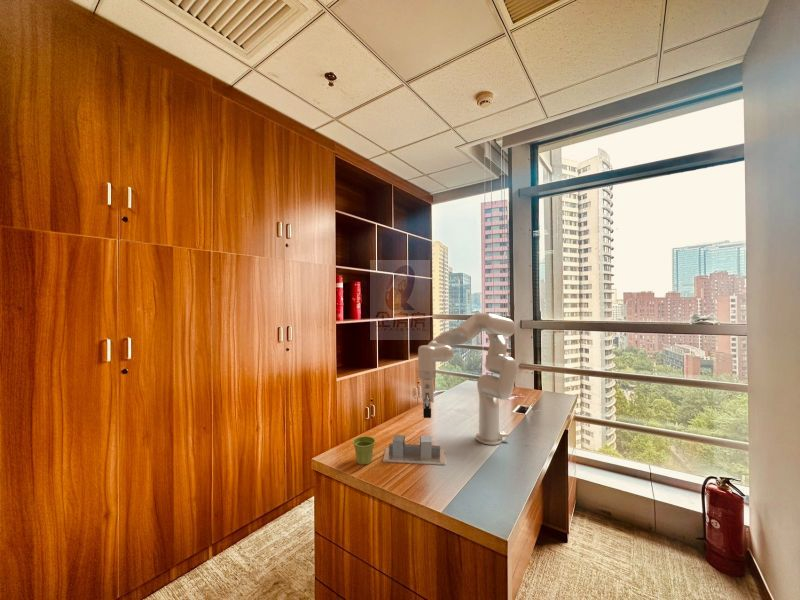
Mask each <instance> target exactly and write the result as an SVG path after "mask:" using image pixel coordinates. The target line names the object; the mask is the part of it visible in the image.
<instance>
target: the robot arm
mask: <svg viewBox="0 0 800 600" xmlns="http://www.w3.org/2000/svg"><path fill="white" fill-rule="evenodd" d="M516 330H517V326H516V323H515V322H514V320H512V319H511V318H509V317H508V318H507V317H504V316H500V315H497V314H494V313H485V312H484V313H483V312H482V313H481V312H477V313H474V314H473V315H471V316H470V317H468V318H467V319H466V320H465V321H463V322H462V323H461V324H459V325H458V326H457V327H455V328H452V329H449V330H447V331H445V332H443V333H441V334H438V336H436V337H435V338H434V339H432V340H431V341H430V342H428V344H424V345H419V346H418V349H417V355H418V357H417V358H418V361H417V363H418V365H417V367H418V370H417V371H418V375H417V377H418V379H419V380H420V383H421V385H420V386H421V390H420V392H421V401H422V404H423V409H422V410H423V416H422V417H423V418H424V419H431V418H432V406H431V405H432V403H434V402H435V401H434V398H435V397H434V396H435V394H434V393H435V392H434V391H435V389H434V388H435V386H434V382H435V381H434V379H436V377H437V375H436V374H437V372H436V371H437V369H436V366H437V365H436V363H438V362H440V363H446V362H450V361H451V360H453V358H454V355H455V352H454V349H453V348H452V346H457V345H463V344H467V343H469V342H470V341H472V340H473V339H474V338H475V337H477V336H478V335H479V334H480V333H482V332H485V333H486V335H487V336H488V341H489V346H488V349H487V355H486V358H485V364H484V367H485V370H487V371H488V372H489V373H493V374H496V375H498V376H499V377H498V376H496V375H492V374H482V375H480V376H479V378H478V379H477V383H476V387H477V392H478V402H479V403H478V407H479V408H478V433H476V434H475V439H476V441H477V442H479V443H481V444H483V445H488V446H496V445H500V444H502V443H503V438H510V433H508V432H507V433H506V432H505V431H500V401H499V400H503V401H505V400H508V399H510V398H511V396H512V393H513V391H514V386H515V382H516V377H517V373H518V364H517V361H516V360H515V358H513V357H512V356H508V355H507V349H508V342H507V340H506V337H510V336H511V337H512V336H513V335H514V334H515V332H516Z"/></svg>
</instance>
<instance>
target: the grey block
mask: <svg viewBox="0 0 800 600" xmlns="http://www.w3.org/2000/svg"><path fill="white" fill-rule="evenodd" d="M432 443H433V442H432V435H420V436H419V445H420V447H421V458H425V459H431V448H432V445H433V444H432Z"/></svg>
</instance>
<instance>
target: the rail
mask: <svg viewBox="0 0 800 600" xmlns="http://www.w3.org/2000/svg"><path fill="white" fill-rule="evenodd" d="M382 462H383V463H399V464H415V465H416V464H419V465H423V464H424V465H436V466H437V465H438V466H439V465H441V466H446V458H445V450H444V449H441V445H433V444H432V448H431V459H425V458H421V447H420V444H411V443H410V444H409V443H407V444H406V435H404V434H393V438H392V443H389V444H388V446H387V447H386V448H385V451H384V454H383V459H382Z"/></svg>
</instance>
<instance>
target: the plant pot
mask: <svg viewBox="0 0 800 600" xmlns="http://www.w3.org/2000/svg"><path fill="white" fill-rule="evenodd" d="M352 444H353V447H354V450H355V451H354V452H355V457H356V463H357V464H358V465H362V466H363V465H369V464H371V463H372V458H373V453H374V447H375V444H376V439H375V438H374V437H372V436H370V435H369V436H367V435H366V436H365V435H361V436H358V437H356V438H354V439H353V440H352Z"/></svg>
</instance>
